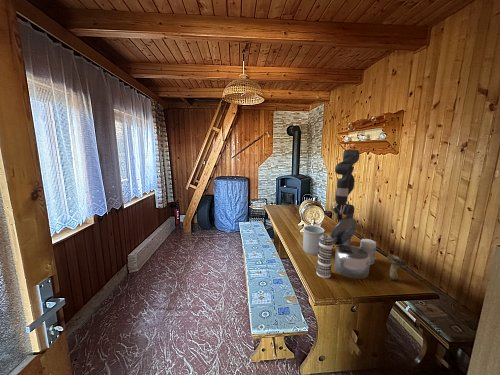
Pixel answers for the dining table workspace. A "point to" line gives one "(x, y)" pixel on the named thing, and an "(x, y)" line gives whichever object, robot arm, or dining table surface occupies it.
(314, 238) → the utensil holder
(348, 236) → the cooker lid
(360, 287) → the dining table surface
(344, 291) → the dining table surface
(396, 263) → the mushroom
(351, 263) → the cooker pot
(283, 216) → the dining table surface
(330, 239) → the decorative candle
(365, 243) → the supplement tub
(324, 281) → the dining table surface
